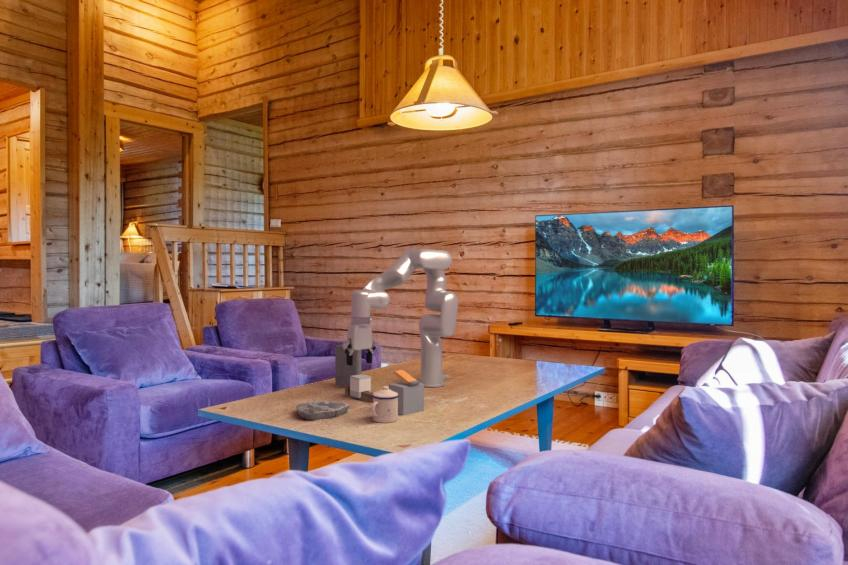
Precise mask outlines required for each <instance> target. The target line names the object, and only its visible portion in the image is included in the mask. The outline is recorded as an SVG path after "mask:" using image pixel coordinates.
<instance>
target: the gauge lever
mask: <svg viewBox="0 0 848 565" xmlns="http://www.w3.org/2000/svg"><path fill="white" fill-rule="evenodd" d="M393 375H395V376H396V378H397V377H398V378H399V379H400V380H401V381H402V382H405V383H406V384H408V386H414V385H419V381H420V380H418V379H416V378H414V377H413V376H412V375H411V374H409V373H408V372H406V371H405V370H403V369H399V370H394V372H393Z"/></svg>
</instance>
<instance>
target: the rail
mask: <svg viewBox="0 0 848 565" xmlns="http://www.w3.org/2000/svg"><path fill="white" fill-rule="evenodd" d="M373 393H374V392H372V391H371V392H368V391H364V392H361V398H357V397H353V396H350V384H349V385H345V388H344V396H345V397H346V398H348V397H349V398H353V399H357V400H360V401H363V400H364V402H368V403H371V404H373V397H372V395H373Z"/></svg>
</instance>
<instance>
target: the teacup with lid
mask: <svg viewBox="0 0 848 565" xmlns="http://www.w3.org/2000/svg"><path fill="white" fill-rule="evenodd" d="M372 393H373V395H372V397H373V403H371V404H372V405H371V407H370V408H371V414H372V420H373V421H374V422H375V423H382V424H389V423H394V422H396V421H398V419H399V416H398V415H399V414H398V396H399V395H398V393H397V392H394V391H392V390H390V389H389V385H388V386H387V385H383V386H382V389H379V390H377V391H374V392H372Z"/></svg>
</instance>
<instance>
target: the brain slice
mask: <svg viewBox="0 0 848 565" xmlns="http://www.w3.org/2000/svg"><path fill="white" fill-rule="evenodd" d="M350 406H351V405H350V404H349V403H345V402H343V401H342V402H341V401H338V400H337V401H335V400H333V401H332V400H321V401H320V400H316V401H315V400H314V401H308V402H306V403H299V404H297V406H295V408H296V411H297V413H298V415H299V416H300V417H301V418H302V419H306V421H320V419H321V420H327V419H328V418H329V419H332V418H337V416H338V417H339V416H342V415H344V414H345V413H347V411H348V410H349V409H350Z"/></svg>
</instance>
